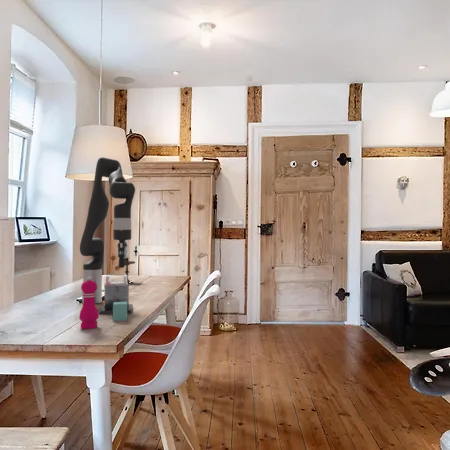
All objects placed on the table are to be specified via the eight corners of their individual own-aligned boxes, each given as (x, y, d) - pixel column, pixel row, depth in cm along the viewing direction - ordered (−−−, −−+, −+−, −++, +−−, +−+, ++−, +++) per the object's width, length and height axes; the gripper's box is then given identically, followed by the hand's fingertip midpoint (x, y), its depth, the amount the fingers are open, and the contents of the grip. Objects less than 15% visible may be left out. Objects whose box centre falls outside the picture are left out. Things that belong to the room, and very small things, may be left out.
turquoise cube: (112, 320, 174) (113, 304, 174) (114, 318, 179) (114, 302, 179) (126, 320, 175) (126, 303, 175) (127, 317, 180) (127, 301, 180)
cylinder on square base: (99, 314, 186) (99, 277, 186) (103, 307, 200) (103, 274, 200) (131, 313, 189) (131, 277, 189) (132, 307, 203) (132, 273, 203)
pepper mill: (87, 330, 159) (88, 278, 159) (75, 327, 163) (75, 276, 162) (102, 326, 165) (102, 276, 165) (90, 324, 169) (90, 274, 169)
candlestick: (132, 284, 279) (133, 232, 278) (116, 283, 279) (117, 231, 279) (136, 281, 289) (136, 231, 289) (121, 281, 290) (121, 231, 289)
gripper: (114, 228, 184) (114, 265, 184) (111, 228, 170) (111, 268, 170) (131, 228, 186) (131, 264, 186) (130, 228, 172) (130, 268, 172)
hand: (122, 266), depth 178 cm, fingers open, 8 cm apart
